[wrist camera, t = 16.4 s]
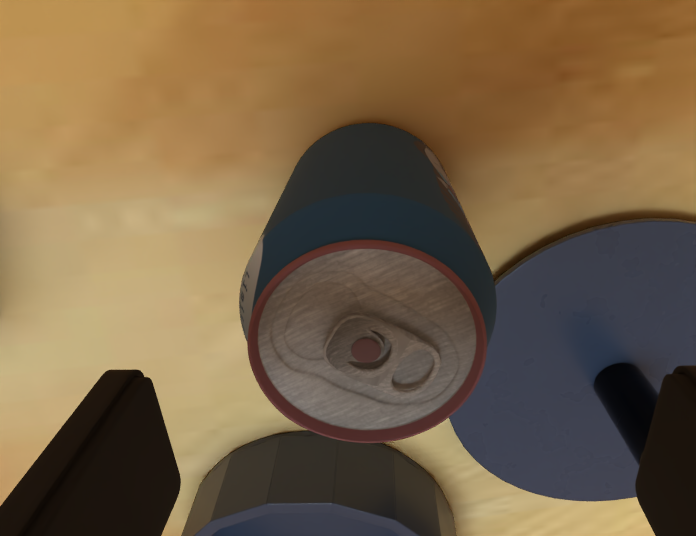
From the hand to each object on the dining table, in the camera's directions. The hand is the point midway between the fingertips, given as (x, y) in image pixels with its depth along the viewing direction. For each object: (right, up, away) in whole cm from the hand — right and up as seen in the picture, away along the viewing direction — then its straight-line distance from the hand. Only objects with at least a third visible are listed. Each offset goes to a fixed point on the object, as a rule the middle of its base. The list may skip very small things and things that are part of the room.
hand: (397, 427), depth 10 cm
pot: (-3, -14, +23) cm, 27 cm away
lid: (+13, -3, +16) cm, 21 cm away
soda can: (0, +6, +13) cm, 15 cm away
